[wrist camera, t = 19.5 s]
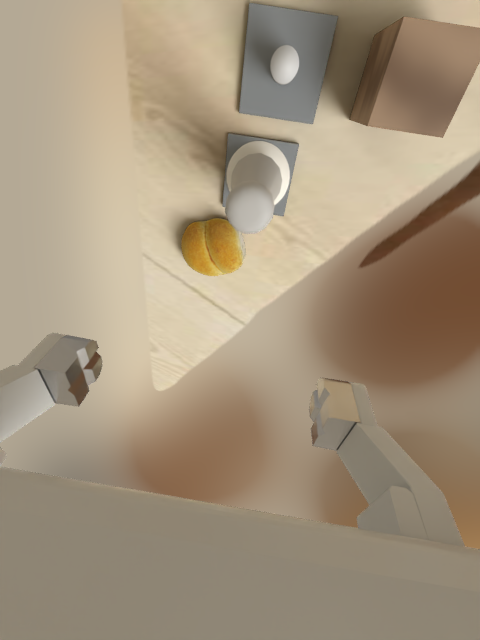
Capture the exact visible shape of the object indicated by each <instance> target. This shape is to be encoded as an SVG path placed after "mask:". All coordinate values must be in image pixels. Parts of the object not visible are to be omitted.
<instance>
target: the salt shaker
mask: <svg viewBox="0 0 480 640" xmlns="http://www.w3.org/2000/svg"><path fill="white" fill-rule="evenodd" d="M281 185H282V177H281V172H280V168H279V166H278V165H277V164H276V163H275V161H274V160H273V159H272V158H270V157H268V156H266V155H264V154H262V153H256V154H248V155H247V156H245V157H244V158H242V159H241V160H239V161H238V162H237V164H236V166H235V168H234V170H233V171H232V177H231V192H230V193H229V195H228V197H227V199H226V208H225V213H226V215H227V218H228V221H229V223H230V224H231V225H232V226H233V227H234V228H235V229H236V230H237V231H240V232H242V233H245V234H254V233H258V232H259V231H261V230H263V229H265V228H266V226H267V225H268V224H269V222H270V221H271V220H272V218H273V213H274V208H275V205H274V200H275V199H276V197H277V196H278V195H279V193H280V190H281Z"/></svg>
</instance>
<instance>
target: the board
mask: <svg viewBox="0 0 480 640" xmlns="http://www.w3.org/2000/svg"><path fill="white" fill-rule="evenodd" d="M337 19H338V16H334V15H327V14H320V13H314V12H307V11H300V10H294V9H287V8H280V7H274V6H267V5H261V4H254V3H249V13H248V24H247V35H246V45H245V56H244V66H243V77H242V87H241V98H240V109H239V113H243V114H250V115H256V116H262V117H269V118H275V119H282V120H288V121H295V122H301V123H308V124H313V122H314V117H315V113H316V109H317V105H318V100H319V96H320V92H321V87H322V83H323V79H324V75H325V70H326V66H327V62H328V57H329V53H330V49H331V45H332V40H333V36H334V32H335V27H336V23H337Z"/></svg>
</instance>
